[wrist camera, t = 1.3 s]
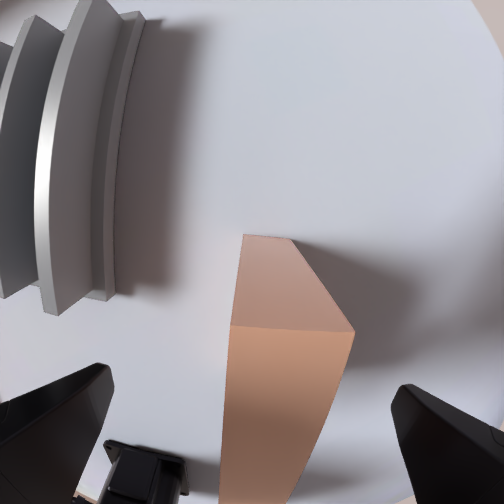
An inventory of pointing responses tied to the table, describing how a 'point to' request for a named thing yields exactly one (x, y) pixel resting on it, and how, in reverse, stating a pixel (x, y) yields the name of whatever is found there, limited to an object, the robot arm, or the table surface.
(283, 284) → the terracotta plate
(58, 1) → the table surface
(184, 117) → the table surface
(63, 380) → the robot arm
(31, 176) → the dish rack
